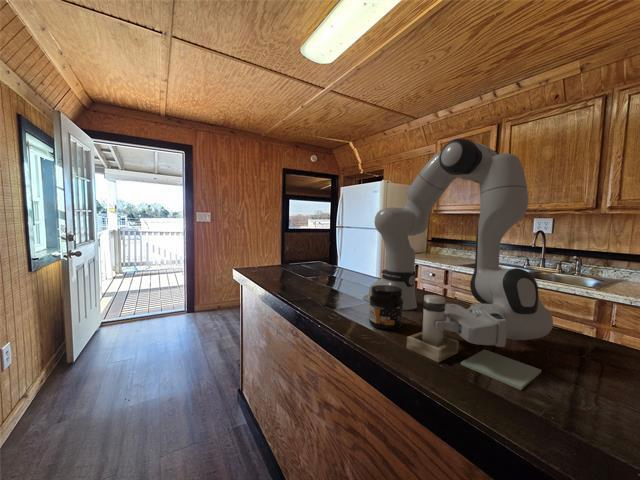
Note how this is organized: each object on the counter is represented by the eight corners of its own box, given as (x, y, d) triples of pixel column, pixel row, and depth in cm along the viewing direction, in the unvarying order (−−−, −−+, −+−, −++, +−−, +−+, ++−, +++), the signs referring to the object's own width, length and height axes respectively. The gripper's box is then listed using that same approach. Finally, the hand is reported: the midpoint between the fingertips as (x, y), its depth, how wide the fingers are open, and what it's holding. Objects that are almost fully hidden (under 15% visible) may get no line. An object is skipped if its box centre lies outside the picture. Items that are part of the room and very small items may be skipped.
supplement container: (364, 327, 87) (365, 289, 87) (373, 317, 97) (374, 283, 96) (398, 333, 83) (400, 294, 82) (404, 322, 92) (406, 287, 91)
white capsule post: (417, 349, 73) (419, 296, 72) (428, 344, 76) (431, 293, 75) (435, 357, 68) (438, 301, 68) (446, 351, 71) (449, 298, 71)
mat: (460, 364, 65) (460, 362, 65) (484, 351, 72) (484, 349, 72) (520, 390, 55) (521, 387, 55) (541, 372, 62) (541, 369, 62)
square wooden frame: (406, 348, 73) (407, 336, 73) (426, 340, 78) (426, 329, 78) (438, 362, 66) (439, 350, 66) (458, 352, 71) (458, 341, 71)
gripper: (462, 298, 82) (415, 297, 82) (511, 323, 62) (449, 321, 61) (461, 319, 82) (414, 318, 82) (509, 350, 62) (448, 349, 62)
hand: (430, 320), depth 72 cm, fingers closed on white capsule post, 5 cm apart
